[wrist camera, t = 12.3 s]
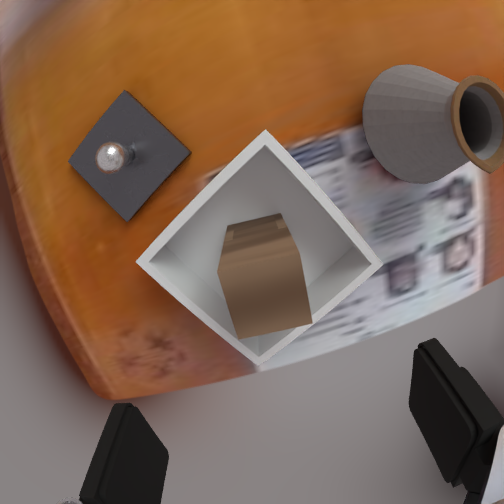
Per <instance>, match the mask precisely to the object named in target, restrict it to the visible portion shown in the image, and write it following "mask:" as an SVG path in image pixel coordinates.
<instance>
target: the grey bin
mask: <svg viewBox="0 0 504 504" xmlns="http://www.w3.org/2000/svg"><path fill="white" fill-rule="evenodd" d="M278 213H281V215H282V217H283V219H284V221H285V223H286V225H287V227H288V229H289V231H290V233H291V235H292V238H293V240H294V242H295V244H296V246H297V248H298V250H299V252H300V257H301V262H302V267H303V272H304V277H305V283H306V288H307V294H308V299H309V305H310V310H311V316H312V322H313V324H314V323H316V322H317V321H318V320H319V319H321V318H322V317H323V316H324V315H326V314H327V313H328V312H329V311H330V310H332V309H333V308H334V307H335V306H336V305H338V304H339V303H340V302H341V301H342V300H344V299H345V298H346V297H347V296H348V295H349V294H351V293H352V292H353V291H354V290H355V289H356V288H358V287H359V286H360V285H361V284H362V283H363V282H364V281H366V280H367V279H368V278H369V277H370V276H371V275H372V274H373V273H375V272H376V271H377V270H378V269H379V268H380V267H381V266H382V265H383V263H382V262H381V261H380V259H379V258H378V257H377V255H376V254H375V253H374V252H373V250H372V249H371V248H370V247H369V245H368V244H367V243H366V242H365V240H364V239H363V238H362V237H361V235H360V234H359V233H358V232H357V230H356V229H355V228H354V227H353V226H352V224H351V223H350V222H349V221H348V220H347V218H346V217H345V216H344V215H343V214H342V212H341V211H340V210H339V209H338V208H337V207H336V205H335V204H334V203H333V202H332V201H331V200H330V198H329V197H328V196H327V195H326V194H325V193H324V192H323V190H322V189H321V188H320V187H319V186H318V185H317V184H316V183H315V181H314V180H313V179H312V178H311V177H310V176H309V175H308V174H307V173H306V171H305V170H304V169H303V168H302V167H301V166H300V165H299V164H298V163H297V162H296V161H295V160H294V158H293V157H292V156H291V155H290V154H289V153H288V152H287V151H286V150H285V149H284V148H283V147H282V146H281V145H280V144H279V143H278V142H277V141H276V139H275V138H274V137H273V136H272V135H271V134H270V133H269V132H268V131H267V130H266V129H265V130H264V131H263V132H262V133H261V134H260V135H259V136H257V137H256V138H255V139H254V140H253V141H252V142H251V143H250V144H249V145H248V146H247V147H246V148H245V149H244V150H243V151H241V152H240V153H239V154H238V155H237V156H236V157H235V158H234V159H233V160H232V161H231V162H230V163H229V164H228V165H227V166H226V167H225V168H224V169H223V170H222V171H221V172H220V173H219V174H218V175H217V176H216V177H215V178H214V179H213V180H212V181H211V182H210V183H209V184H208V185H207V186H206V187H205V188H204V189H203V190H202V191H201V192H200V193H199V194H198V195H197V196H196V197H195V198H194V199H193V200H192V201H191V202H190V203H189V204H188V205H187V206H186V207H185V208H184V209H183V210H182V211H181V213H180V214H179V215H178V216H177V217H176V218H175V219H174V220H173V221H172V222H171V223H170V224H169V225H168V226H167V227H166V228H165V230H164V231H163V232H162V233H161V234H160V235H159V236H158V237H157V238H156V239H155V240H154V242H153V243H152V244H151V245H150V246H149V247H148V248H147V249H146V251H145V252H144V253H143V254H142V255H141V256H140V257H139V259H138V260H137V261H136V263H137V264H138V265H140V266H141V267H142V268H143V269H144V270H145V271H146V272H147V273H148V274H149V275H150V276H151V277H153V278H154V279H155V280H156V281H157V282H158V283H159V284H160V285H161V286H162V287H164V288H165V289H166V290H167V291H168V292H169V293H170V294H171V295H173V296H174V297H175V298H176V299H177V300H178V301H179V302H181V303H182V304H183V305H184V306H185V307H186V308H187V309H189V310H190V311H191V312H192V313H193V314H194V315H196V316H197V317H198V318H199V319H200V320H202V321H203V322H204V323H205V324H206V325H208V326H209V327H210V328H211V329H212V330H214V331H215V332H216V333H217V334H218V335H220V336H221V337H222V338H223V339H225V340H226V341H227V342H228V343H229V344H231V345H232V346H233V347H234V348H236V349H237V350H238V351H239V352H241V353H242V354H243V355H245V356H246V357H247V358H248V359H250V360H251V361H252V362H254V363H255V364H256V365H257V366H260V365H261V364H262V363H264V362H265V361H266V360H268V359H269V358H271V357H272V356H273V355H275V354H276V353H277V352H279V351H280V350H281V349H283V348H284V347H285V346H286V345H288V344H289V343H290V342H292V341H293V340H294V339H296V338H297V337H298V336H299V335H301V334H302V333H303V332H304V331H306V330H307V329H308V328H309V327H311V326H312V325H313V324H308V325H304V326H300V327H296V328H291V329H287V330H282V331H278V332H273V333H269V334H264V335H259V336H254V337H249V338H244V339H239V340H238V338H237V335H236V332H235V328H234V325H233V322H232V319H231V316H230V313H229V309H228V306H227V303H226V300H225V297H224V293H223V290H222V287H221V284H220V280H219V277H218V274H217V269H218V265H219V260H220V256H221V251H222V247H223V243H224V238H225V234H226V230H227V226H228V225H232V224H236V223H240V222H244V221H248V220H253V219H257V218H261V217H265V216H270V215H274V214H278Z"/></svg>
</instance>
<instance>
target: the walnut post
mask: <svg viewBox="0 0 504 504" xmlns="http://www.w3.org/2000/svg"><path fill="white" fill-rule="evenodd" d="M217 274H218V277H219V280H220V284H221V287H222V290H223V293H224V297H225V300H226V303H227V306H228V309H229V313H230V316H231V319H232V322H233V325H234V328H235V332H236V335H237V338H238V340H239V339H244V338H249V337H254V336H259V335H264V334H269V333H273V332H278V331H282V330H287V329H291V328H296V327H300V326H304V325H308V324H313V322H312V316H311V310H310V305H309V299H308V294H307V288H306V283H305V277H304V272H303V267H302V262H301V257H300V252H299V250H298V248H297V246H296V244H295V242H294V240H293V238H292V235H291V233H290V231H289V229H288V227H287V225H286V223H285V221H284V219H283V217H282V215H281V213H278V214H274V215H270V216H265V217H261V218H257V219H253V220H248V221H244V222H240V223H236V224H232V225H228V226H227V230H226V234H225V238H224V243H223V247H222V251H221V256H220V260H219V265H218V269H217Z"/></svg>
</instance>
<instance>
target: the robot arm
mask: <svg viewBox="0 0 504 504" xmlns="http://www.w3.org/2000/svg"><path fill="white" fill-rule="evenodd" d="M409 408H410V411H411V412H412V415H413V417H414V419H415V420H416V423H417V425H418V427H419V428H420V430H421V432H422V434H423V436H424V438H425V440H426V442H427V444H428V447H429V448H430V451H431V452H432V455H433V457H434V459H435V461H436V463H437V465H438V467H439V469H440V472H441V474H442V476H443V478H444V480H445V481H446V482H447V483H449V482H451V484H452V486H453V487H456V486H458V485H460V484H462V483H463V484H464V486H465V488H466V490H467V494H466V497H465V499H464V502H463V504H504V418H503V417H502V416H501V414H500V413H499V411H498V410H497V409H496V407H495V406H494V404H493V403H492V402H491V400H490V399H489V398H488V397H487V395H486V394H485V392H484V391H483V390H482V389H481V387H480V386H479V385H478V383H477V382H476V381H475V379H474V378H473V377H472V376H471V374H470V373H469V372H468V371H467V370H466V369H465V368H464V367H459V366H458V365H457V363H456V362H455V361H454V360H453V358H452V357H451V356H450V355H449V353H448V352H447V351H446V350H445V348H444V347H443V346H442V345H441V344H440V343H439V341H438V340H437V339H436V338H433V339H430V340H428V341H425V342H422V343H420V344H419V345H418V349H416V350H415V351H414V357H413V369H412V379H411V388H410V396H409ZM168 460H169V455H168V451H167V449H166V448H165V446H164V445H163V443H162V442H161V441H160V440H159V438H158V437H157V435H156V434H155V432H154V431H153V430H152V428H151V427H150V425H149V424H148V422H147V421H146V420H145V418H144V417H143V415H142V414H141V412H140V411H139V409H138V408H137V407H134V406H133V405H132V404H131V403H116V404H114V406H113V407H112V410H111V412H110V415H109V417H108V420H107V422H106V425H105V427H104V430H103V432H102V435H101V437H100V440H99V442H98V445H97V448H96V451H95V453H94V456H93V458H92V461H91V464H90V466H89V469H88V472H87V474H86V477H85V480H84V483H83V486H82V489H81V491H80V495H79V496H80V499H79V500H77V499H75V498H65V499H62V500H61V501H59V502H58V503H57V504H161V498H162V492H163V486H164V480H165V476H166V470H167V465H168Z"/></svg>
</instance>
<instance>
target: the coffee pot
mask: <svg viewBox="0 0 504 504" xmlns="http://www.w3.org/2000/svg"><path fill="white" fill-rule="evenodd" d="M362 114H363V128H364V132H365V136H366V139H367V143H368V145H369V147H370V149H371V150H372V152H373V154H374V156H375V158H376V159H377V160H378V161H379V162H380V163H381V165H382V166H383V167H384V168H385V169H386V170H387V171H389V172H390V173H391V174H393V175H394V176H396V177H397V178H398V179H401V180H404V181H407V182H410V183H419V184H426V183H430V182H433V181H437V180H439V179H441V178H443V177H444V176H446V175H447V174H449V173H451V172H452V171H454V170H456V169H457V168H459V167H461V166H462V165H464V164H465V163H467V162H469V161H471V162H472V163H473V164H475V165H476V166H478V167H479V168H480V169H482V170H484V171H486V172H488V173H490V174H491V173H492V172H494V171H495V170H497V169H498V168H499V167H500V166H501V165H502V164H503V163H504V93H503V91H502V90H501V89H500V88H499V87H498V86H497V85H496V84H495V83H494V82H492V81H491V80H489V79H488V78H485V77H482V76H479V75H477V76H469V77H467V78H465V79H463V80H462V81H461V82H460V83H457V82H455V81H453V80H451V79H449V78H447V77H445V76H442V75H440V74H438V73H436V72H433V71H431V70H429V69H426V68H424V67H420V66H415V65H410V64H408V65H398V66H394V67H391V68H389V69H387V70H385V71H383V72H382V73H381V74H380V75H379V76H378V77H377V78H376V79H375V80H374V81H373V82H372V84H371V86H370V87H369V89H368V91H367V93H366V95H365V100H364V105H363V109H362Z"/></svg>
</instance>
